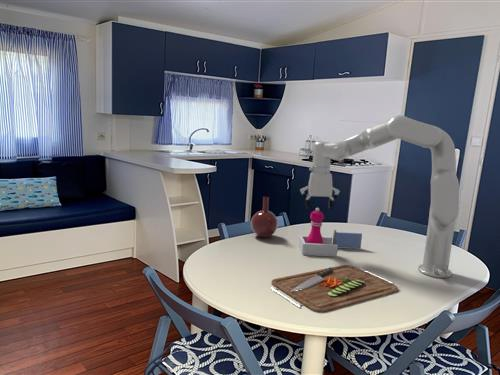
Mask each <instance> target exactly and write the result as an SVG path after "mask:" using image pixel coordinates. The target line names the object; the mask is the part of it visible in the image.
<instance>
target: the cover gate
mask: <svg viewBox="0 0 500 375" xmlns="http://www.w3.org/2000/svg"><path fill="white" fill-rule="evenodd" d="M362 236H363V233H360V232H345V231H344V232H343V231H342V232H339V231H337V229H333V235H332V244H335V245H338V248H343V249H345V248H346V249H361V248H362V247H361V246H362Z"/></svg>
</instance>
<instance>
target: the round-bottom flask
mask: <svg viewBox="0 0 500 375" xmlns="http://www.w3.org/2000/svg"><path fill="white" fill-rule="evenodd" d="M262 198H263V199H262V210H259V211H257V212H256V213H255V214H254V215H253V216H252V218H251V220H250V228H251V229H252V231H253V233H254V234H255V235H256V236H257V237H260V238H269V237H271V236H273V235H274V234H275V233H276V231H277V230H278V224H279V222H278V218H277V216H276V215H275V214H274V213H273V212H272V211H270V210H269V199H270V196H265V195H264V196H262Z"/></svg>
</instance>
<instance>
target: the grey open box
mask: <svg viewBox="0 0 500 375" xmlns="http://www.w3.org/2000/svg"><path fill="white" fill-rule="evenodd" d="M308 236H309V235H299V236H298V248H299V250H300V253H301V255H302V256H321V257H322V256H323V257H337V256H338V248H339V247H338V245H335V244H332V243H333V236H322V238H323V244H314V243H307V238H308Z"/></svg>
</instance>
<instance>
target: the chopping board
mask: <svg viewBox="0 0 500 375" xmlns="http://www.w3.org/2000/svg"><path fill="white" fill-rule="evenodd" d="M271 285H272V286H273V287H274V288H273V287H270V291H272V292H274V293H276V294H277V295H278V296H280V297H282V298H283V299H285V300H286V301H288V302H289V303H291V304H292V305H294V306H295V307H297V308H298V309H301V308H302V307H305V308H307V309H308V310H310V311H312V312H315V313H326V312H330V311H333V310H337V309H341V308H344V307H348V306H352V305H356V304H358V303H359V304H360V303H364V302H366V301H369V300H374V299H377V298H380V297H384V296H385V297H386V296H388V295H392V294H395V293H398V292H399V287H398V286H396V285H395V283H394V282H393V281H391V280H389V279H387V278H383V277H382V276H380V275H377V274H375V273H373V272H371V271H368V270H366V269H363V268H362V267H361V268H358V267H355V266H353V265H351V264H350V265H348V264H342V265H338V266H337V265H336V266H332V267H327V268H322V269H318V270H316V269H315V270H311V271H308V272H307V271H306V272H301V273H297V274H291V275H289V276H282V277H278V278H274V279H272V280H271ZM278 290H279V291H280V292H279V291H278ZM281 292H282V293H281ZM284 294H285V295H287V296H288V297H287V296H285V295H284ZM289 297H290V298H289ZM293 300H294V301H293ZM295 301H296V302H298V303H299V304H298V303H296V302H295Z"/></svg>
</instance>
